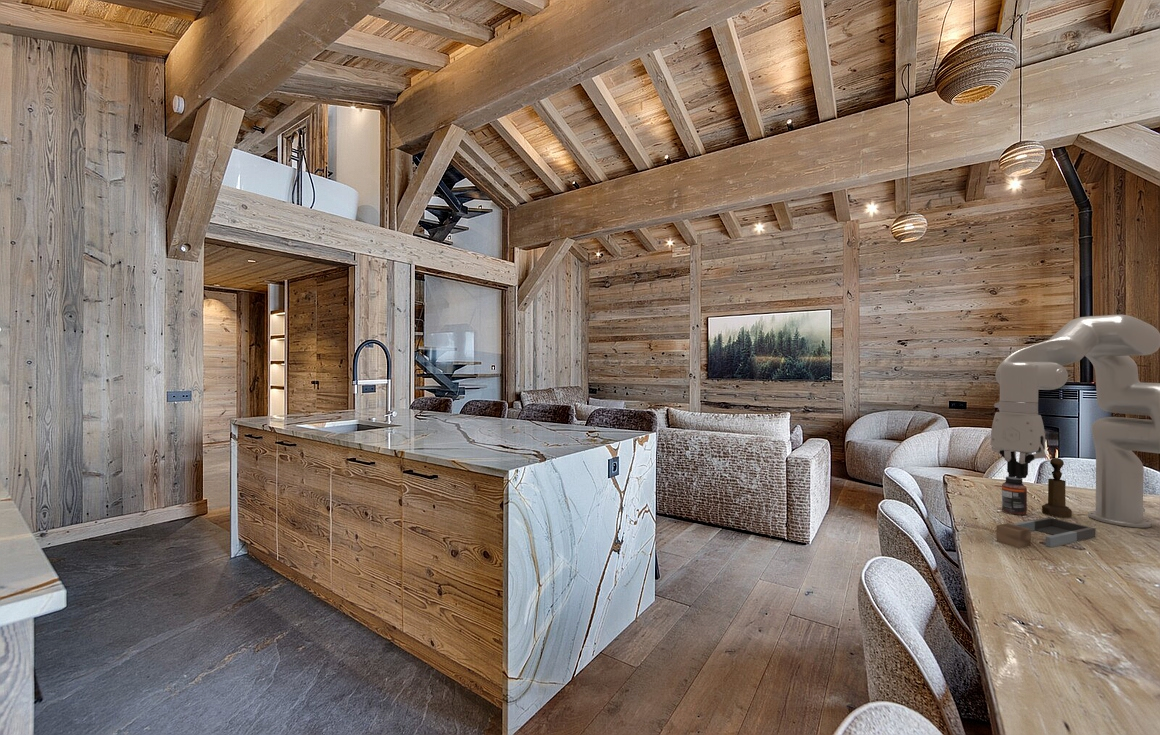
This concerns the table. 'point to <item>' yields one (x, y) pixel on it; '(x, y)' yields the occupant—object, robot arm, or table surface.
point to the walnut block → (1013, 535)
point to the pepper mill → (1056, 493)
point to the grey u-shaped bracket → (1059, 530)
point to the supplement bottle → (1014, 496)
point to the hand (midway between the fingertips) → (1017, 476)
